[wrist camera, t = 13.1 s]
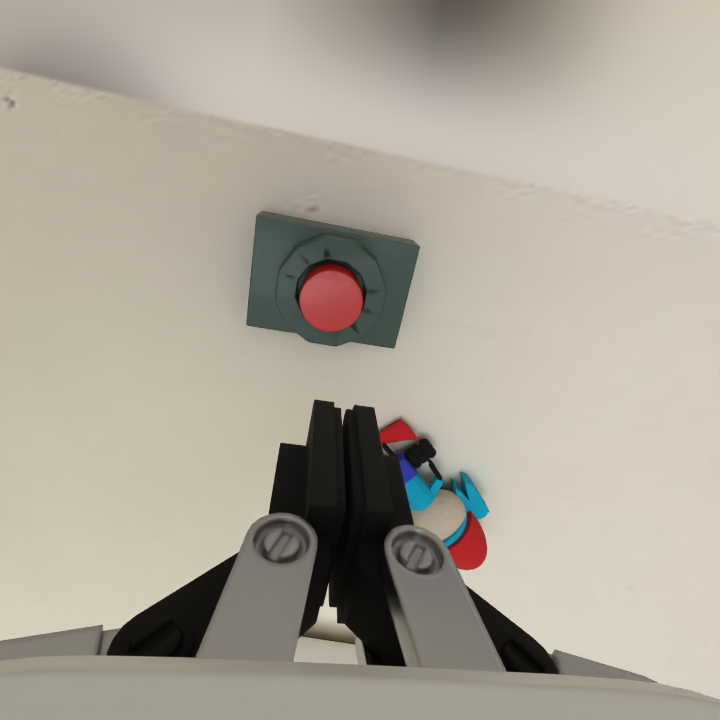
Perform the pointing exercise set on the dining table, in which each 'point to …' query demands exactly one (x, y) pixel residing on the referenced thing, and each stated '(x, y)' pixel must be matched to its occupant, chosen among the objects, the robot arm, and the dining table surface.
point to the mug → (324, 651)
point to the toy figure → (440, 500)
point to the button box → (319, 247)
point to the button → (331, 298)
